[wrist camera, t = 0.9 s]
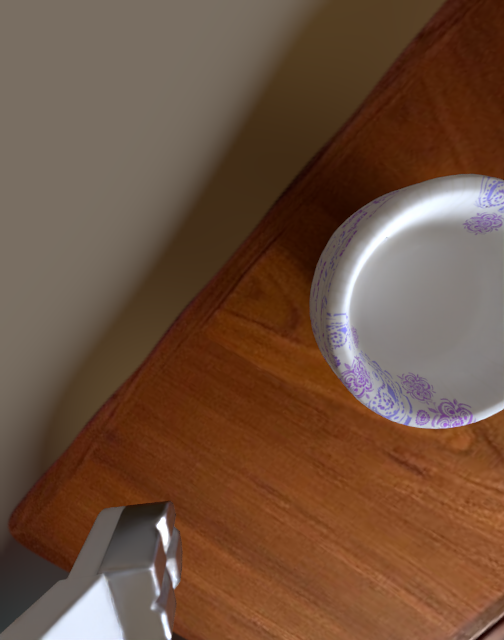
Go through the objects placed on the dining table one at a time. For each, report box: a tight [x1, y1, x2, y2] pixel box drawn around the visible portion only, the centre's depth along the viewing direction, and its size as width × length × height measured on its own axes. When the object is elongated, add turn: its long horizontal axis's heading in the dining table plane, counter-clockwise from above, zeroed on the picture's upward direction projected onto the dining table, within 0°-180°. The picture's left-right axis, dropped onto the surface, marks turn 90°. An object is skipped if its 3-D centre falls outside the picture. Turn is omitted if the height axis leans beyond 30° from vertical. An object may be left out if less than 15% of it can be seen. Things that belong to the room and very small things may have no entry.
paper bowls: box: [310, 174, 504, 429], centre depth 24 cm, size 15×15×8 cm
